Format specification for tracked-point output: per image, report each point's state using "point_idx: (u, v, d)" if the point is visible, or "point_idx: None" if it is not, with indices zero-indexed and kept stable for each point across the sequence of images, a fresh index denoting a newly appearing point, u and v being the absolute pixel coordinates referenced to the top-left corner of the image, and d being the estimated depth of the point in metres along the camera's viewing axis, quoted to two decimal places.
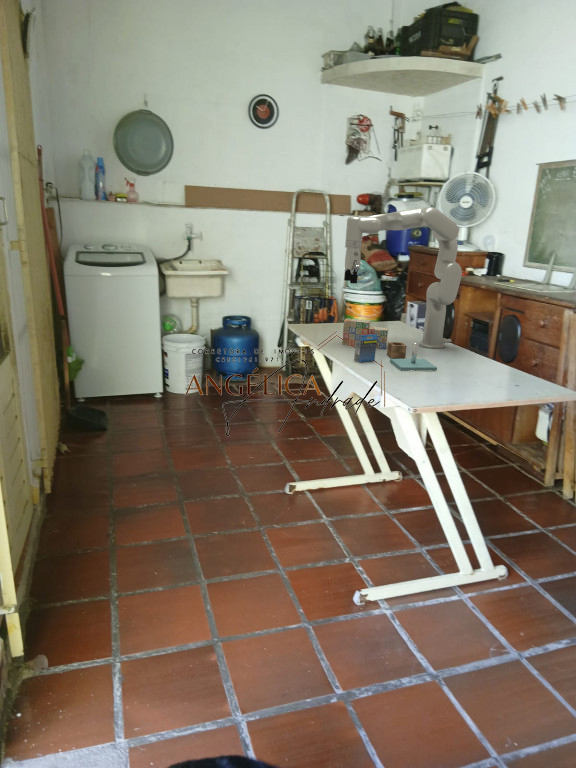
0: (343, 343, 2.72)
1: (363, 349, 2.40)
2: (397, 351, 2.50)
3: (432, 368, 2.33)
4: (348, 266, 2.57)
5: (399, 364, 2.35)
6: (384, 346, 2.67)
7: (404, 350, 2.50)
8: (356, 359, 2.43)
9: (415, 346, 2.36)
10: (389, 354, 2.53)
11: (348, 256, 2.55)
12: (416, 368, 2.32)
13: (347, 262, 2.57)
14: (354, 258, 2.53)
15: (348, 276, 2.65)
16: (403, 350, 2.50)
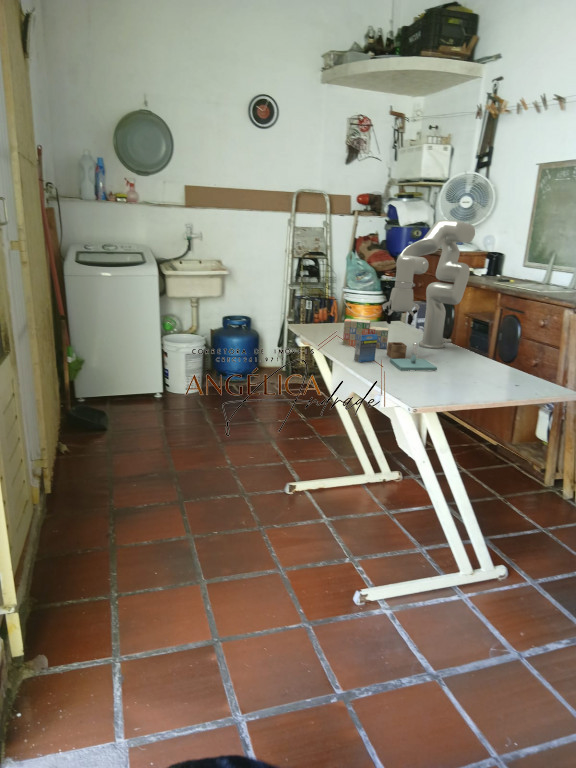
0: (344, 343, 2.71)
1: (363, 349, 2.40)
2: (397, 351, 2.50)
3: (432, 368, 2.33)
4: (406, 308, 2.45)
5: (399, 364, 2.35)
6: (385, 346, 2.67)
7: (404, 350, 2.50)
8: (356, 359, 2.43)
9: (415, 346, 2.36)
10: (389, 354, 2.53)
11: (407, 298, 2.44)
12: (416, 368, 2.32)
13: (404, 304, 2.44)
14: None
15: None
16: (403, 350, 2.50)
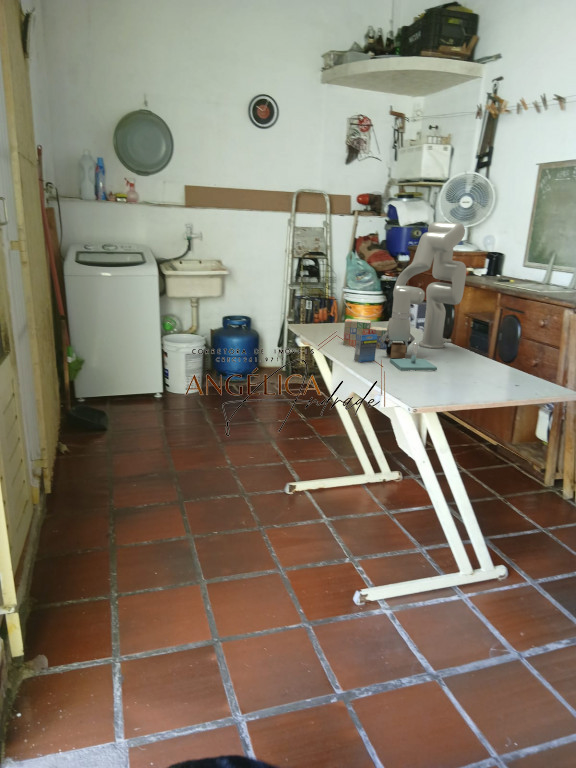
0: (344, 343, 2.71)
1: (363, 349, 2.40)
2: (397, 351, 2.50)
3: (432, 368, 2.33)
4: (403, 338, 2.50)
5: (399, 364, 2.35)
6: (385, 346, 2.67)
7: (404, 350, 2.50)
8: (356, 359, 2.43)
9: (415, 346, 2.36)
10: None
11: (404, 328, 2.48)
12: (416, 368, 2.32)
13: (401, 334, 2.49)
14: None
15: None
16: (403, 350, 2.50)
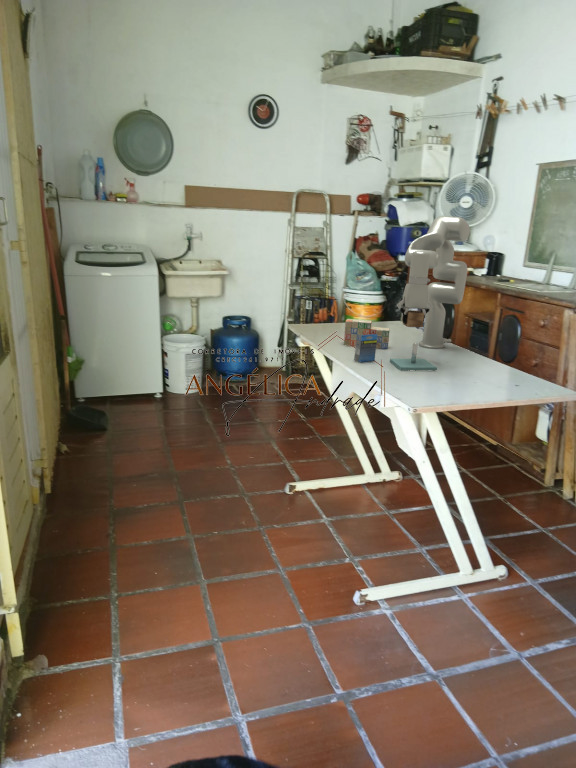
0: (345, 343, 2.71)
1: (363, 349, 2.40)
2: (414, 319, 2.33)
3: (432, 368, 2.33)
4: (421, 305, 2.33)
5: (399, 364, 2.35)
6: (386, 346, 2.67)
7: (421, 318, 2.34)
8: (356, 359, 2.43)
9: (415, 346, 2.36)
10: None
11: (422, 294, 2.31)
12: (416, 368, 2.32)
13: (418, 301, 2.32)
14: None
15: None
16: (420, 318, 2.34)
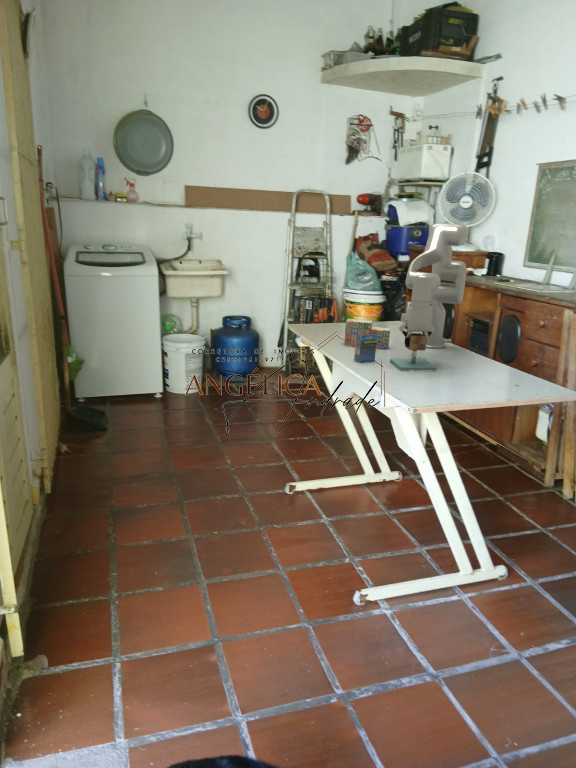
0: (345, 344, 2.71)
1: (363, 349, 2.40)
2: (416, 342, 2.33)
3: (432, 368, 2.33)
4: (423, 328, 2.32)
5: (399, 364, 2.35)
6: (386, 346, 2.67)
7: (424, 341, 2.33)
8: (356, 359, 2.43)
9: None
10: None
11: (424, 318, 2.31)
12: (416, 368, 2.32)
13: (421, 324, 2.31)
14: None
15: None
16: (423, 341, 2.33)
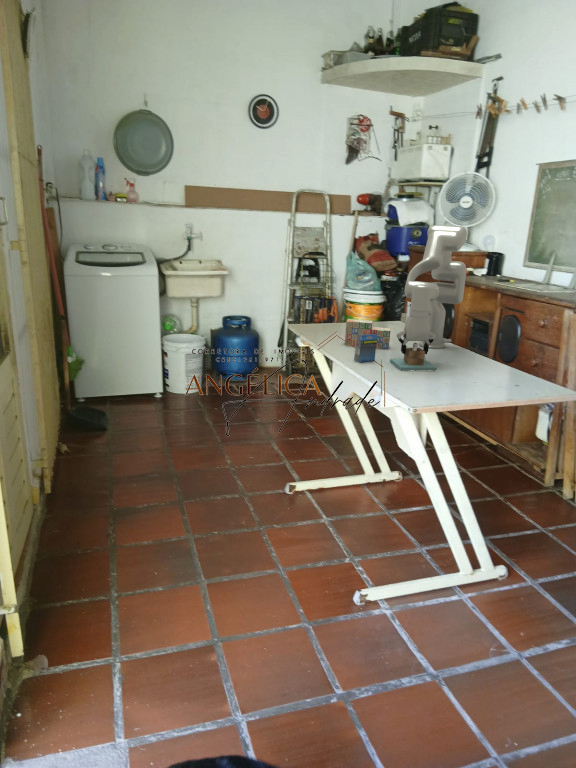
0: (346, 344, 2.71)
1: (363, 349, 2.40)
2: (415, 357, 2.35)
3: (432, 368, 2.33)
4: (422, 338, 2.34)
5: (399, 364, 2.35)
6: (387, 346, 2.66)
7: (422, 356, 2.35)
8: (356, 359, 2.43)
9: (415, 346, 2.36)
10: (406, 360, 2.38)
11: (423, 327, 2.32)
12: (416, 368, 2.32)
13: (419, 334, 2.33)
14: None
15: None
16: (421, 356, 2.35)
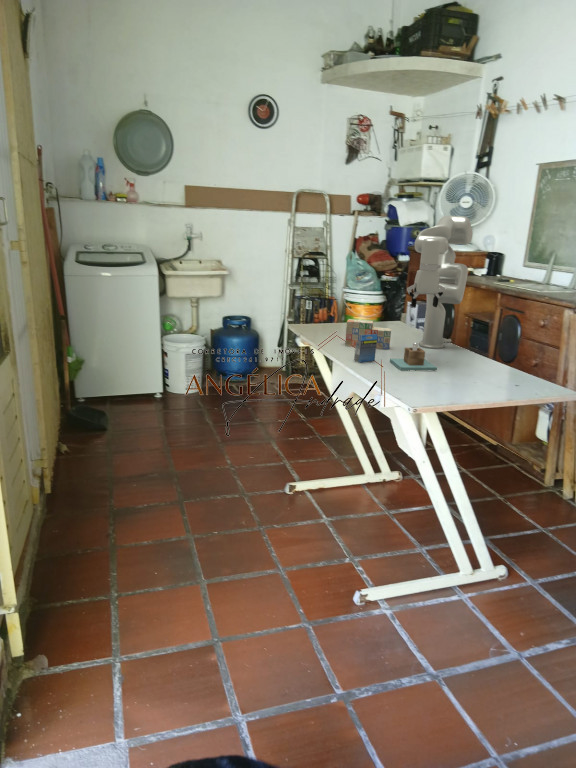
0: (346, 344, 2.70)
1: (363, 349, 2.40)
2: (415, 357, 2.35)
3: (432, 368, 2.33)
4: (432, 291, 2.40)
5: (399, 364, 2.35)
6: (387, 347, 2.66)
7: (422, 356, 2.35)
8: (356, 359, 2.43)
9: (415, 346, 2.36)
10: (406, 360, 2.38)
11: (432, 281, 2.38)
12: (416, 368, 2.32)
13: (429, 287, 2.39)
14: None
15: None
16: (421, 356, 2.35)
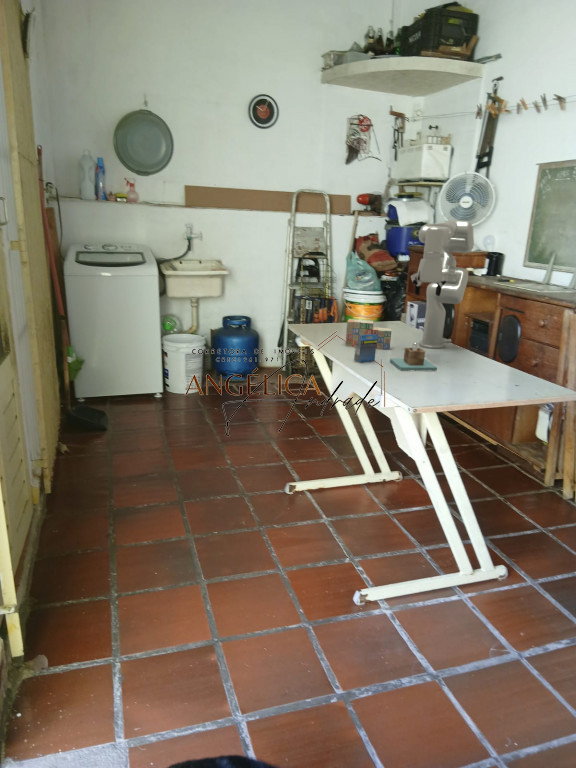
0: (346, 344, 2.70)
1: (363, 349, 2.40)
2: (415, 357, 2.35)
3: (432, 368, 2.33)
4: (435, 279, 2.44)
5: (399, 364, 2.35)
6: (388, 347, 2.66)
7: (422, 356, 2.35)
8: (356, 359, 2.43)
9: (415, 346, 2.36)
10: (406, 360, 2.38)
11: (436, 269, 2.43)
12: (416, 368, 2.32)
13: (433, 275, 2.43)
14: None
15: None
16: (421, 356, 2.35)
